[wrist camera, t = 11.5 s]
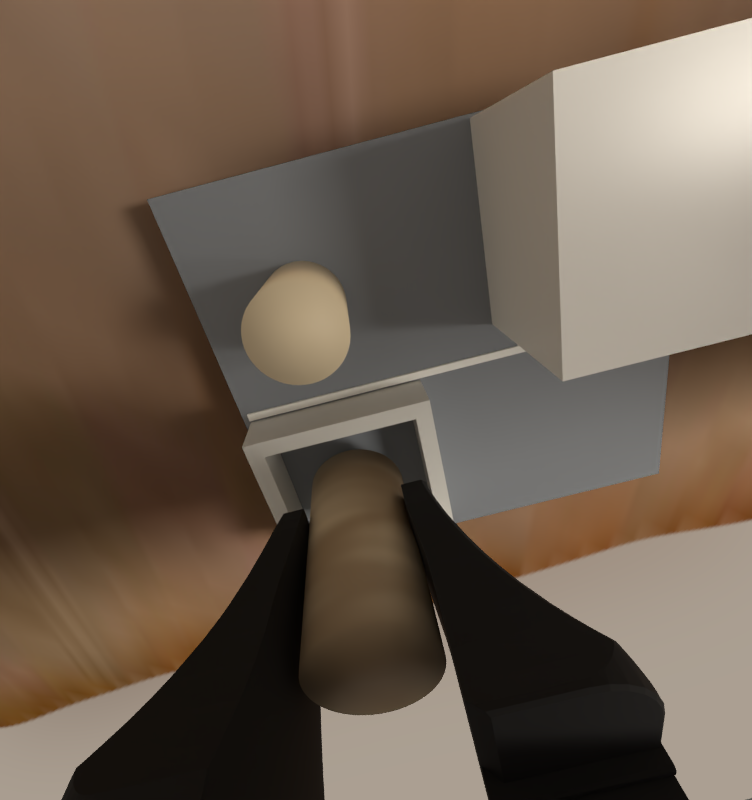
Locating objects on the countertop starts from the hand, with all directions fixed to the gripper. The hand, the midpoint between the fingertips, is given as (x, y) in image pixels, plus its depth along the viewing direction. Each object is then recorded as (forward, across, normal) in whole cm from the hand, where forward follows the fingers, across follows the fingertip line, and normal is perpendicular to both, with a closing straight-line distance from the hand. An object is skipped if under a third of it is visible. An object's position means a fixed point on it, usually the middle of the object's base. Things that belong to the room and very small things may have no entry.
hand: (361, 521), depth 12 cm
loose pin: (+2, 0, 0) cm, 2 cm away
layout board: (+4, -4, -3) cm, 6 cm away
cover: (+3, -8, -7) cm, 11 cm away
